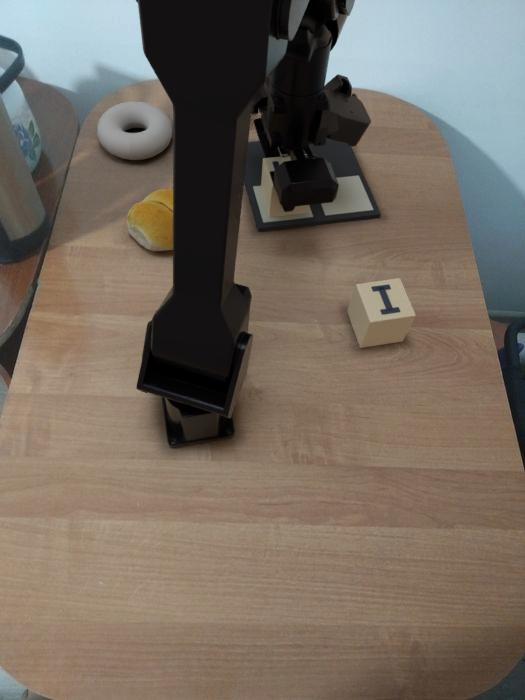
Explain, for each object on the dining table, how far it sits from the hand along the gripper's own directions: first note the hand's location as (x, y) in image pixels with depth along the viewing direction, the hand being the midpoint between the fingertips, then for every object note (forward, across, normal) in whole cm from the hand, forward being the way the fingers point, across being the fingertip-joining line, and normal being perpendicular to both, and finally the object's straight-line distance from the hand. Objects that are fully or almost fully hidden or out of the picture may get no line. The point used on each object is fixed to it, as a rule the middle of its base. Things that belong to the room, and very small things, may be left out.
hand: (283, 195), depth 70 cm
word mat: (+2, +4, -4) cm, 6 cm away
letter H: (+1, 0, 0) cm, 1 cm away
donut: (+2, +15, +17) cm, 23 cm away
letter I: (+2, -20, -6) cm, 21 cm away
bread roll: (0, -2, +15) cm, 15 cm away
